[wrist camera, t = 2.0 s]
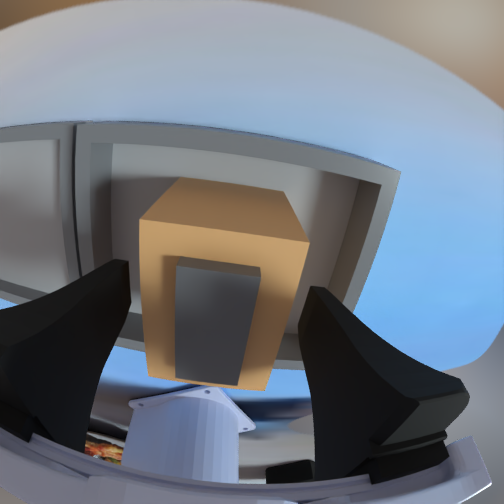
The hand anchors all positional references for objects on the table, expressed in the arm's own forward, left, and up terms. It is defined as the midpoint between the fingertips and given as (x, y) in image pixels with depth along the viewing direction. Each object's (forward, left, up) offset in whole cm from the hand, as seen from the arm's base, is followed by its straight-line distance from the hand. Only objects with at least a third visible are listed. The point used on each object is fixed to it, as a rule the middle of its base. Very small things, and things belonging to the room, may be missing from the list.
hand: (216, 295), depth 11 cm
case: (0, 0, -5) cm, 5 cm away
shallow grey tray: (-12, +8, -5) cm, 16 cm away
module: (0, 0, -4) cm, 4 cm away
